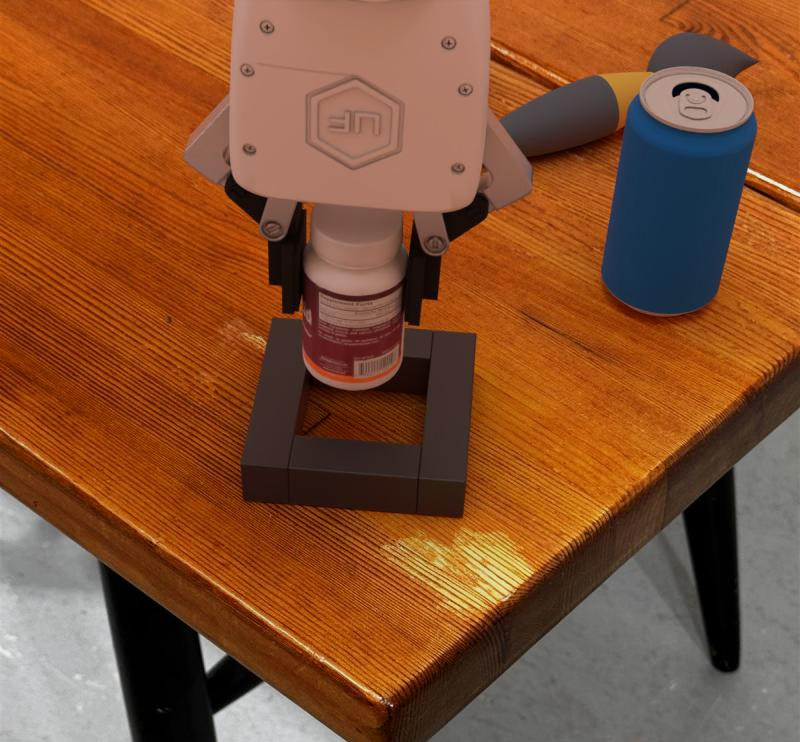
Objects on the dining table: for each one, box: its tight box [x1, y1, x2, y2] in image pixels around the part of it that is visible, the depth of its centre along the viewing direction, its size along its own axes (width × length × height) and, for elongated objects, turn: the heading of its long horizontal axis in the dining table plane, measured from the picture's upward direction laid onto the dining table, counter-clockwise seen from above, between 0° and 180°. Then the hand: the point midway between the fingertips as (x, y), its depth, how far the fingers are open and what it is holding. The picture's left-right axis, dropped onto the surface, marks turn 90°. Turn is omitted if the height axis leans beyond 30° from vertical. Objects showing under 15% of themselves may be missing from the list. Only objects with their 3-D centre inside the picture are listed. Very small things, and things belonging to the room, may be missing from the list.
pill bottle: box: [301, 203, 409, 391], centre depth 66 cm, size 5×5×8 cm
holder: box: [239, 316, 478, 519], centre depth 71 cm, size 10×10×2 cm
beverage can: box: [600, 67, 758, 318], centre depth 76 cm, size 6×6×12 cm
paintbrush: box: [498, 31, 761, 158], centre depth 89 cm, size 20×5×5 cm, turn 122°
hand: (354, 297), depth 66 cm, fingers closed on pill bottle, 4 cm apart
